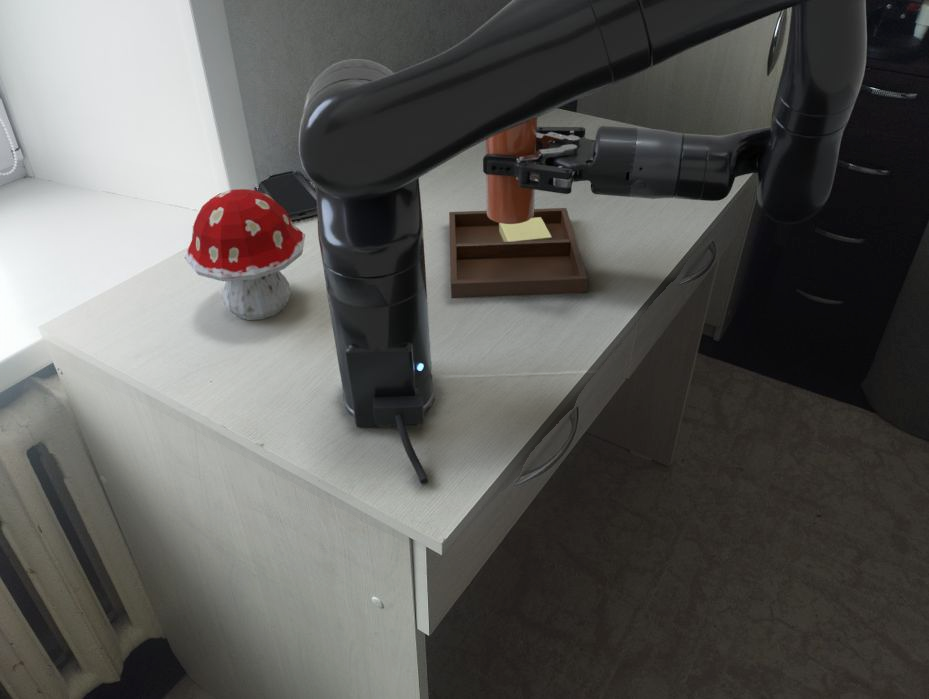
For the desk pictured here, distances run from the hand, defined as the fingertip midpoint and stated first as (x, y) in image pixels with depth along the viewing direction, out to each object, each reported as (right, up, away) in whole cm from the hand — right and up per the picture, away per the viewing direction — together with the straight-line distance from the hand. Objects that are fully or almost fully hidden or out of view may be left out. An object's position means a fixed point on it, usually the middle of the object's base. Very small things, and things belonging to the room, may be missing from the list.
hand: (490, 152), depth 88 cm
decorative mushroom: (-28, -18, +5) cm, 34 cm away
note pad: (+5, -8, +16) cm, 18 cm away
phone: (-30, 0, +29) cm, 42 cm away
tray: (+3, -11, +13) cm, 17 cm away
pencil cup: (+3, -6, +4) cm, 8 cm away
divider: (+3, -11, +13) cm, 17 cm away
